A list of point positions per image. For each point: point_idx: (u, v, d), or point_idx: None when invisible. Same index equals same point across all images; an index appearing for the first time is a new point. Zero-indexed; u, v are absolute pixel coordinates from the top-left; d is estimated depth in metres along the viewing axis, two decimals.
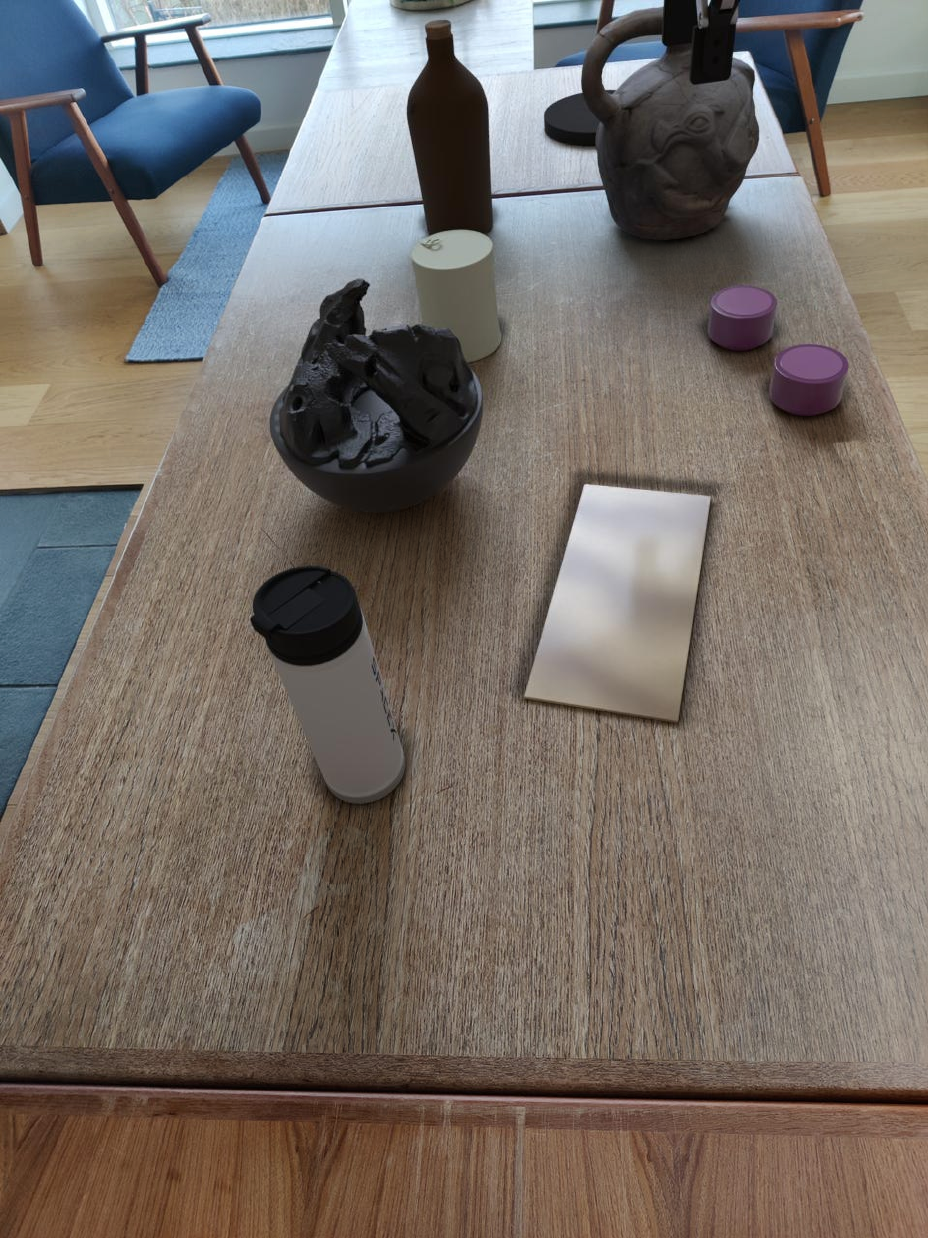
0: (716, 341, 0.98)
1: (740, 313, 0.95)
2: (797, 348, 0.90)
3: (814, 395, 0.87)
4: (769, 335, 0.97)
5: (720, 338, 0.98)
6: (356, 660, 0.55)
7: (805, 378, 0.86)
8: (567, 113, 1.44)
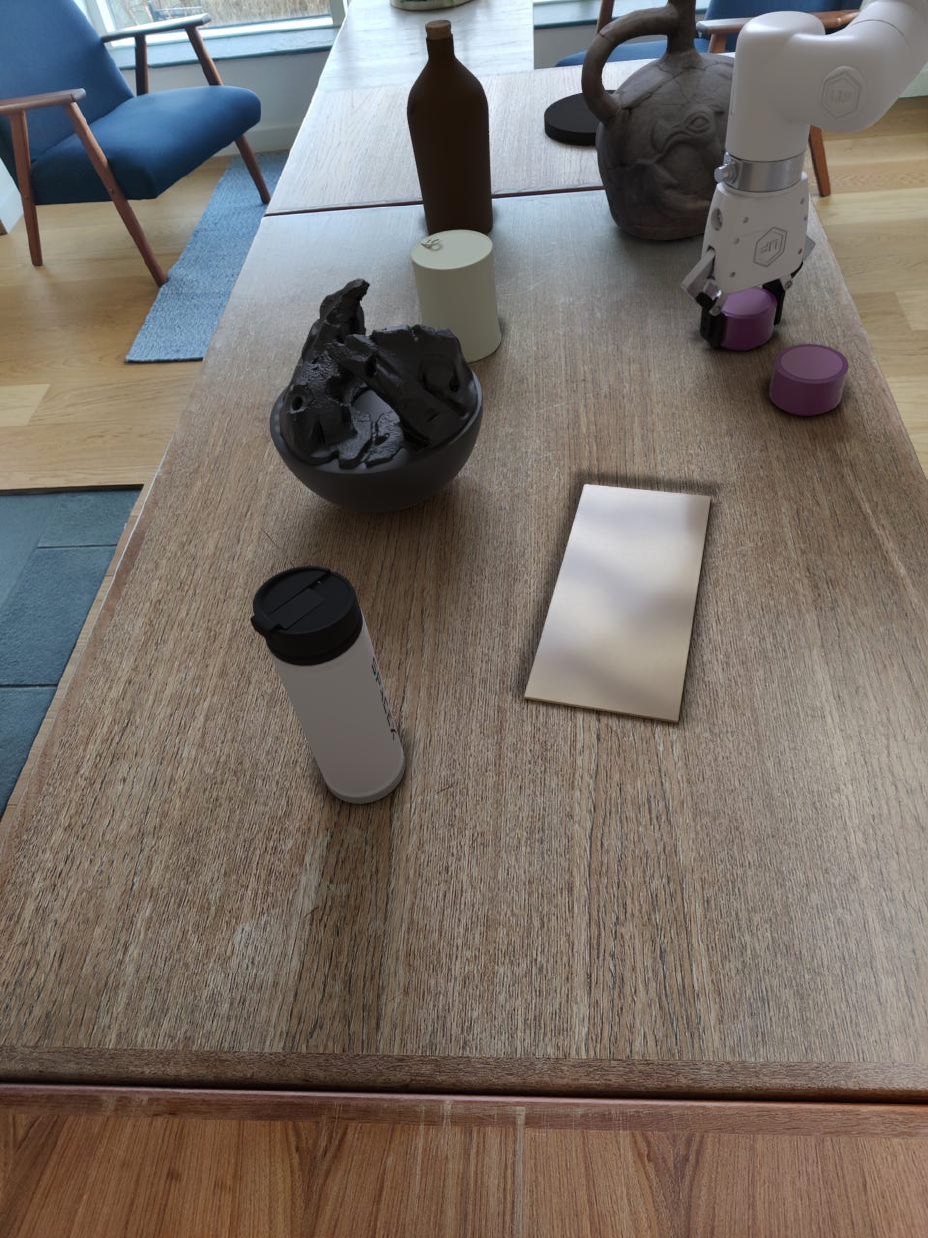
0: None
1: (740, 313, 0.95)
2: (797, 348, 0.90)
3: (814, 395, 0.87)
4: (769, 335, 0.97)
5: None
6: (356, 660, 0.55)
7: (805, 378, 0.86)
8: (567, 113, 1.44)
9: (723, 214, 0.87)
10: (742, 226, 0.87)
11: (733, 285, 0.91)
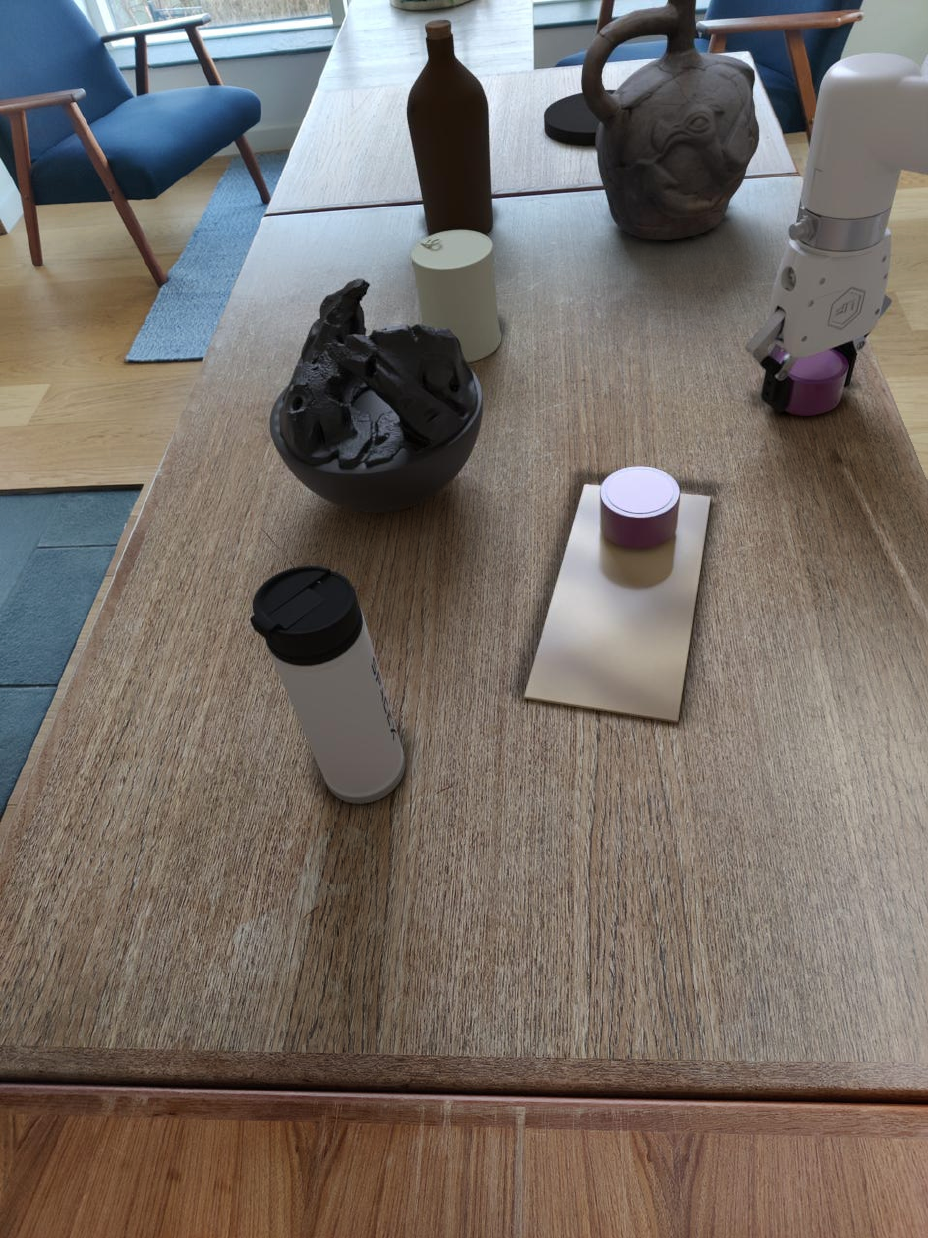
0: (607, 537, 0.79)
1: (633, 511, 0.76)
2: None
3: (814, 395, 0.87)
4: (672, 532, 0.79)
5: (612, 535, 0.79)
6: (356, 660, 0.55)
7: (805, 378, 0.86)
8: (567, 113, 1.44)
9: (797, 274, 0.78)
10: (818, 287, 0.78)
11: (804, 349, 0.82)
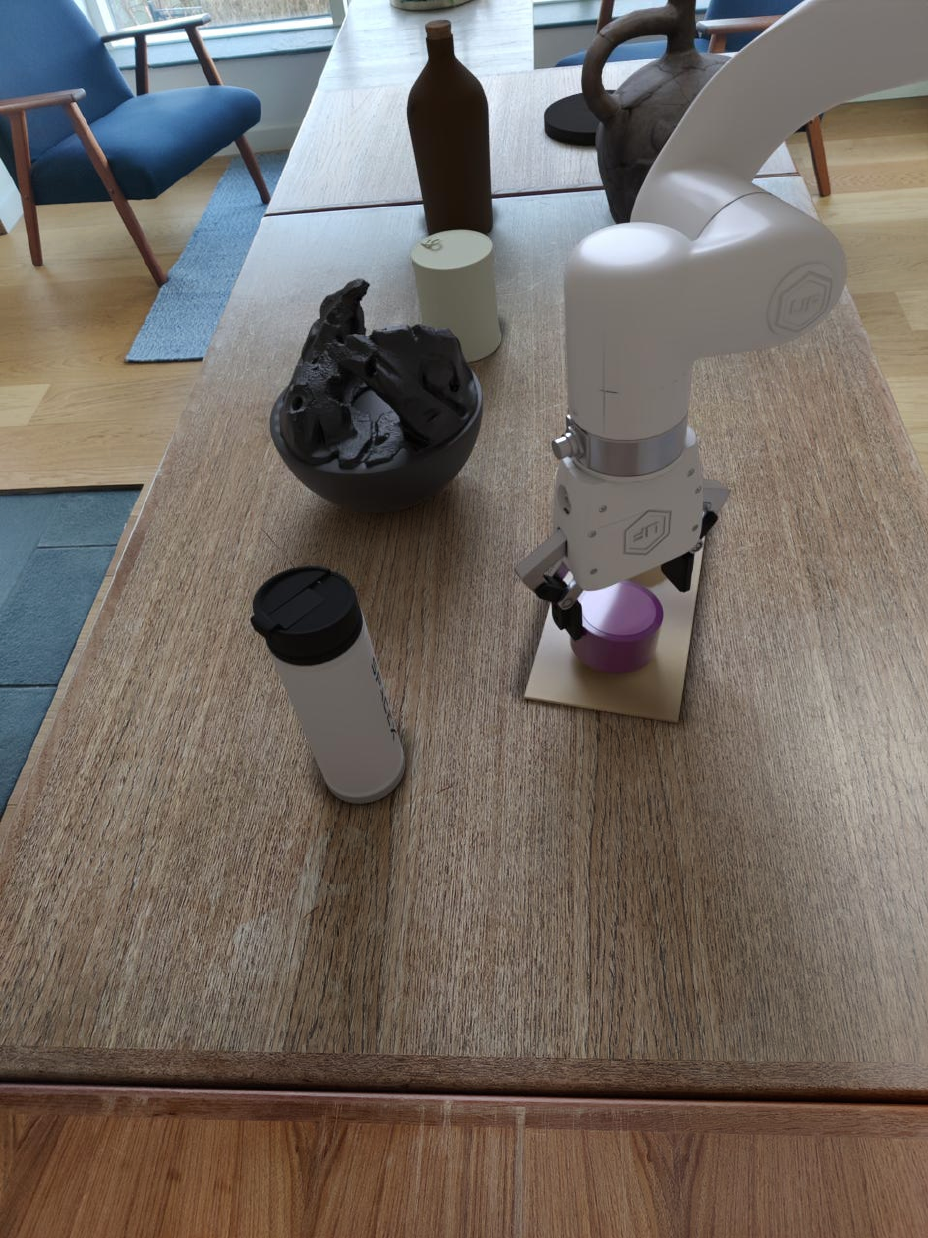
0: None
1: None
2: None
3: (613, 653, 0.67)
4: None
5: None
6: (356, 660, 0.55)
7: (604, 631, 0.67)
8: (567, 113, 1.44)
9: (570, 498, 0.58)
10: (599, 517, 0.58)
11: (596, 582, 0.62)
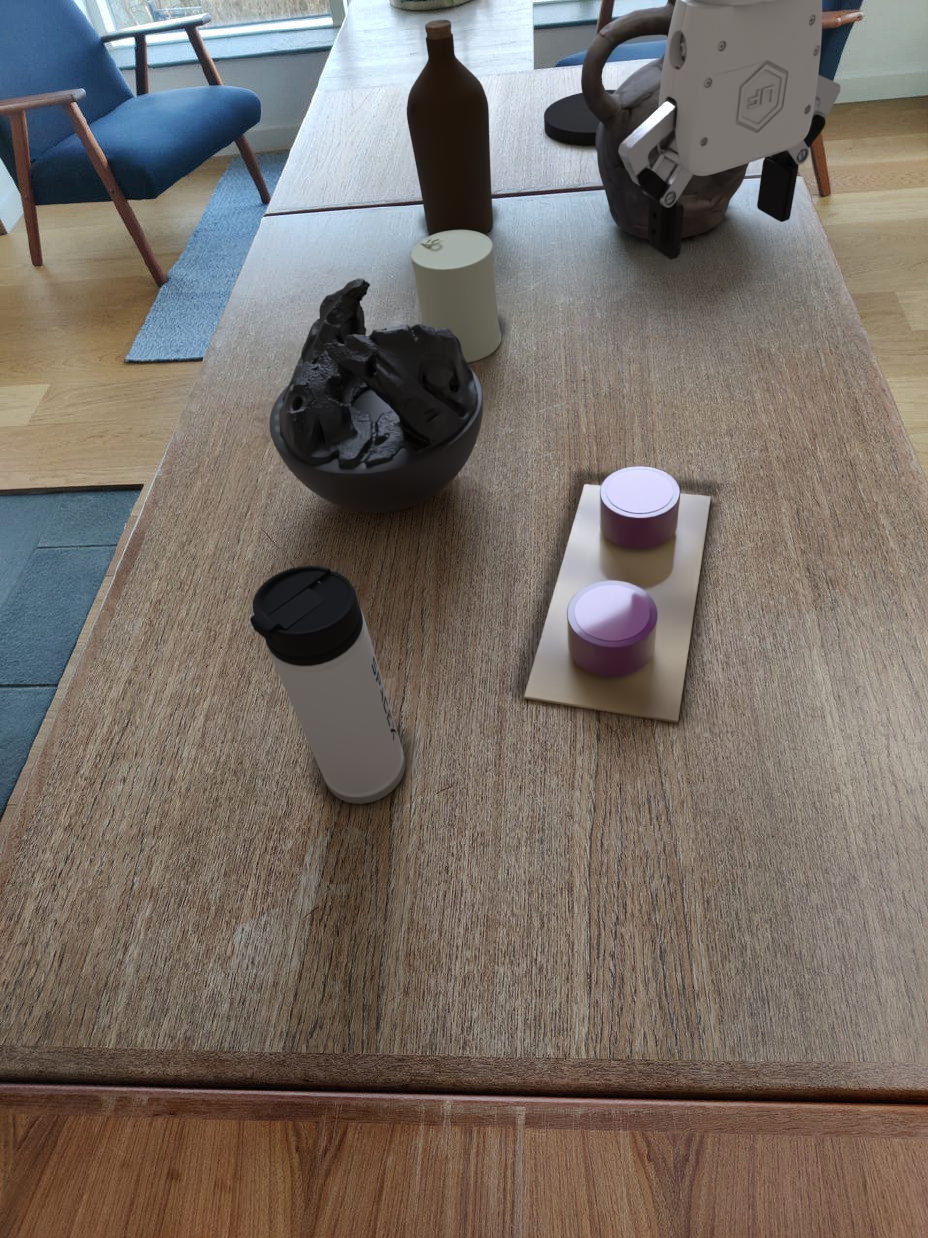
0: (607, 537, 0.79)
1: (633, 511, 0.76)
2: (604, 587, 0.71)
3: (605, 658, 0.68)
4: (672, 532, 0.79)
5: (612, 535, 0.79)
6: (356, 660, 0.55)
7: (595, 636, 0.68)
8: (567, 113, 1.44)
9: (687, 38, 0.55)
10: (717, 57, 0.55)
11: (705, 160, 0.59)
